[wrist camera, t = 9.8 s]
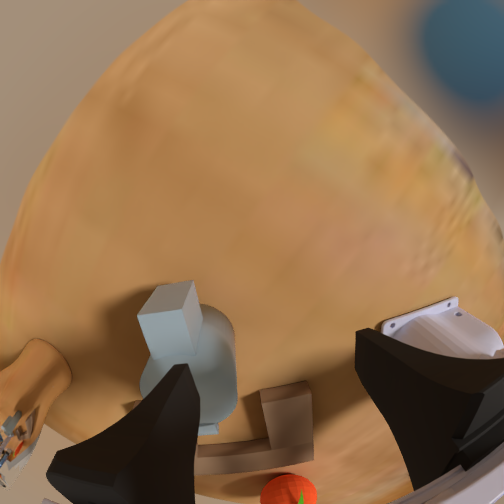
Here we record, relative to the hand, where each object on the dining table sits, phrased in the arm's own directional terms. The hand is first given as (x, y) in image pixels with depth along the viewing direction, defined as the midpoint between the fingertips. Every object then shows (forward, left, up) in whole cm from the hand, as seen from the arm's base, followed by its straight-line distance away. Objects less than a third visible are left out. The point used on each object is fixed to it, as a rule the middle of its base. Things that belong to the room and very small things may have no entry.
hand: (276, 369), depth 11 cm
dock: (+5, +15, -9) cm, 18 cm away
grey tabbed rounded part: (+5, +3, -10) cm, 11 cm away
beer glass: (+22, +5, -10) cm, 25 cm away
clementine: (0, +27, -10) cm, 28 cm away
